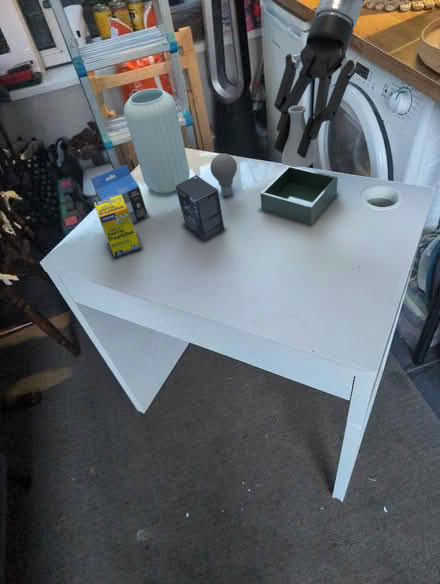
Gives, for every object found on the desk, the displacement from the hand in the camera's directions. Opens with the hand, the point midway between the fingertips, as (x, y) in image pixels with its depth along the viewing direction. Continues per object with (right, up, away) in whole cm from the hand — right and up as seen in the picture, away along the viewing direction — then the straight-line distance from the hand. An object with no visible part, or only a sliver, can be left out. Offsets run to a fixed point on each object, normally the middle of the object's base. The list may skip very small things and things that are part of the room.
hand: (289, 152), depth 81 cm
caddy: (+5, -6, +16) cm, 18 cm away
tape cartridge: (-34, -10, +20) cm, 41 cm away
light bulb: (-11, -3, +22) cm, 25 cm away
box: (-16, -12, +14) cm, 25 cm away
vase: (-26, +1, +28) cm, 38 cm away
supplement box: (-34, -16, +14) cm, 40 cm away
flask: (+3, 0, +4) cm, 5 cm away
